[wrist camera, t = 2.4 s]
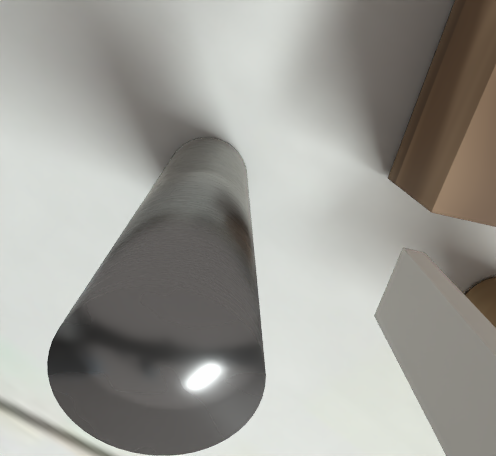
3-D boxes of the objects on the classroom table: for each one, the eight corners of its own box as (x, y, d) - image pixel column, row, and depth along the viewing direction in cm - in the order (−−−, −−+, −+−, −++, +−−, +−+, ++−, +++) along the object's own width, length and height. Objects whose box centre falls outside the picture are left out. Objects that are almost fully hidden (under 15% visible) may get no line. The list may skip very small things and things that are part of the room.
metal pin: (162, 205, 21) (42, 440, 8) (174, 129, 19) (53, 265, 7) (237, 221, 21) (239, 467, 8) (255, 147, 20) (290, 310, 7)
